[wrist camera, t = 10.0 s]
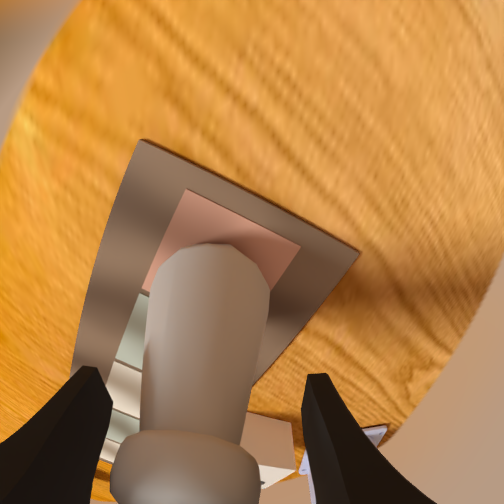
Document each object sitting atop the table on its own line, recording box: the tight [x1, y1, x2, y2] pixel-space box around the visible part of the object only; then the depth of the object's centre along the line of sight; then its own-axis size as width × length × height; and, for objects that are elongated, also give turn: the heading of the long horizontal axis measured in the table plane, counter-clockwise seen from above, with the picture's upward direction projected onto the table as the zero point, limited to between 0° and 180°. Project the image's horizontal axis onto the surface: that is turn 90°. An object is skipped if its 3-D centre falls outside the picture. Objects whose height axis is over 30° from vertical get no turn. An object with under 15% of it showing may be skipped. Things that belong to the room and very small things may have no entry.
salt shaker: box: [110, 243, 270, 504], centre depth 12 cm, size 6×6×13 cm
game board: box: [70, 139, 359, 465], centre depth 23 cm, size 37×13×1 cm, turn 151°
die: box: [240, 412, 296, 489], centre depth 23 cm, size 5×5×5 cm
